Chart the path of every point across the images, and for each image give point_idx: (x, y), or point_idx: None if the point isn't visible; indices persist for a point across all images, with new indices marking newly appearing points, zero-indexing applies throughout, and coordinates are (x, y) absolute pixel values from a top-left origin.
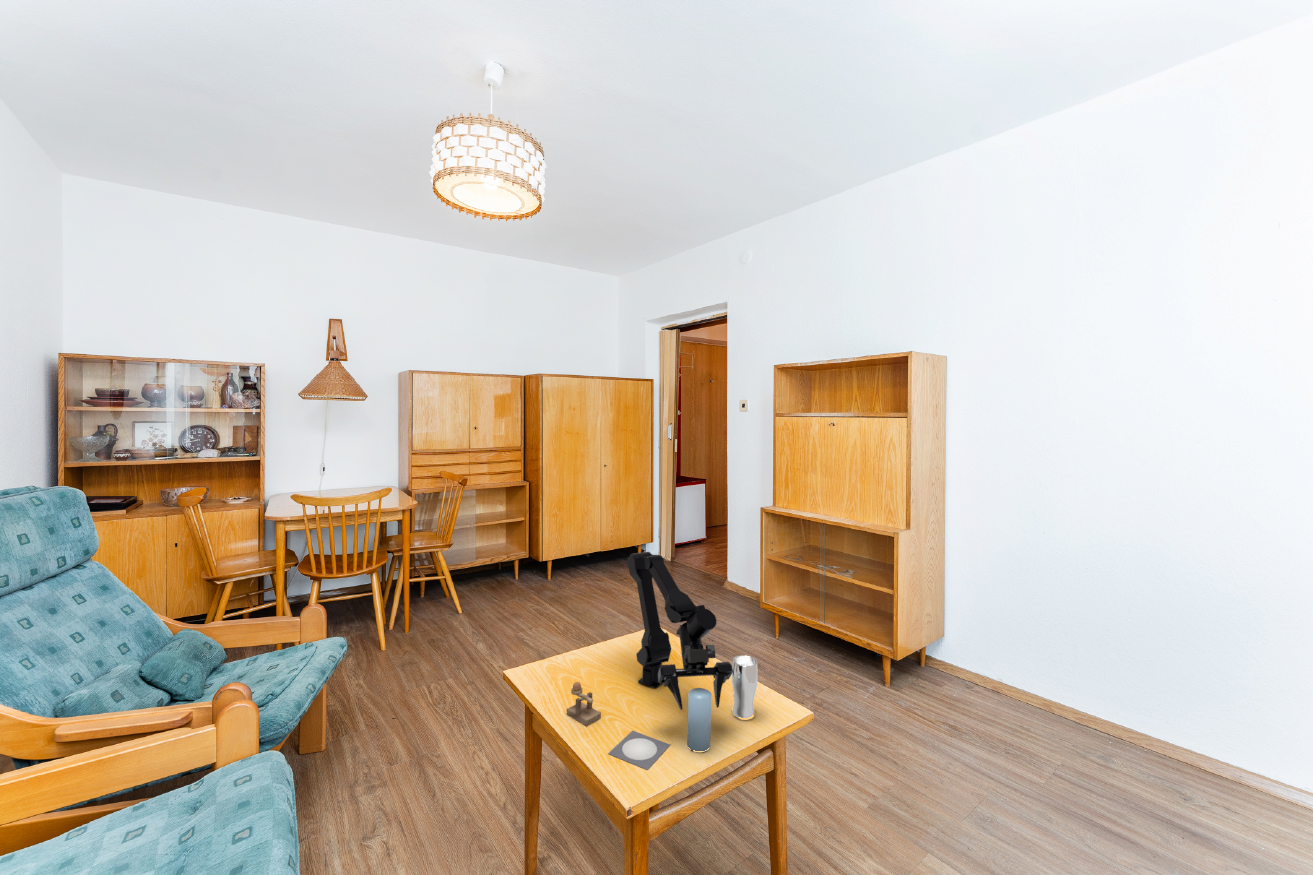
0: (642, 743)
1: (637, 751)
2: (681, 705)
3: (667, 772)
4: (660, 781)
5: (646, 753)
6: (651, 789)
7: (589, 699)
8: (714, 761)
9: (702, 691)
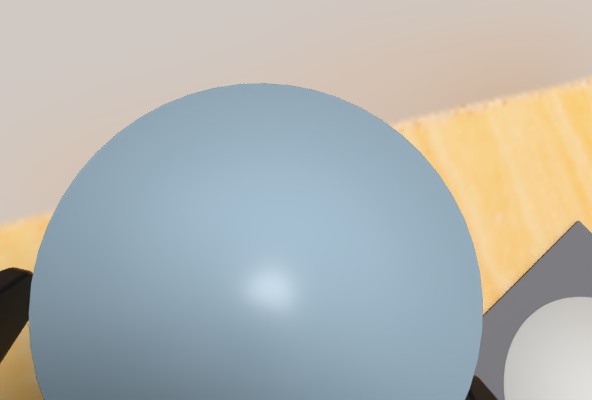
0: None
1: None
2: (476, 392)
3: (489, 176)
4: (531, 136)
5: (568, 343)
6: (575, 109)
7: None
8: None
9: (173, 348)
